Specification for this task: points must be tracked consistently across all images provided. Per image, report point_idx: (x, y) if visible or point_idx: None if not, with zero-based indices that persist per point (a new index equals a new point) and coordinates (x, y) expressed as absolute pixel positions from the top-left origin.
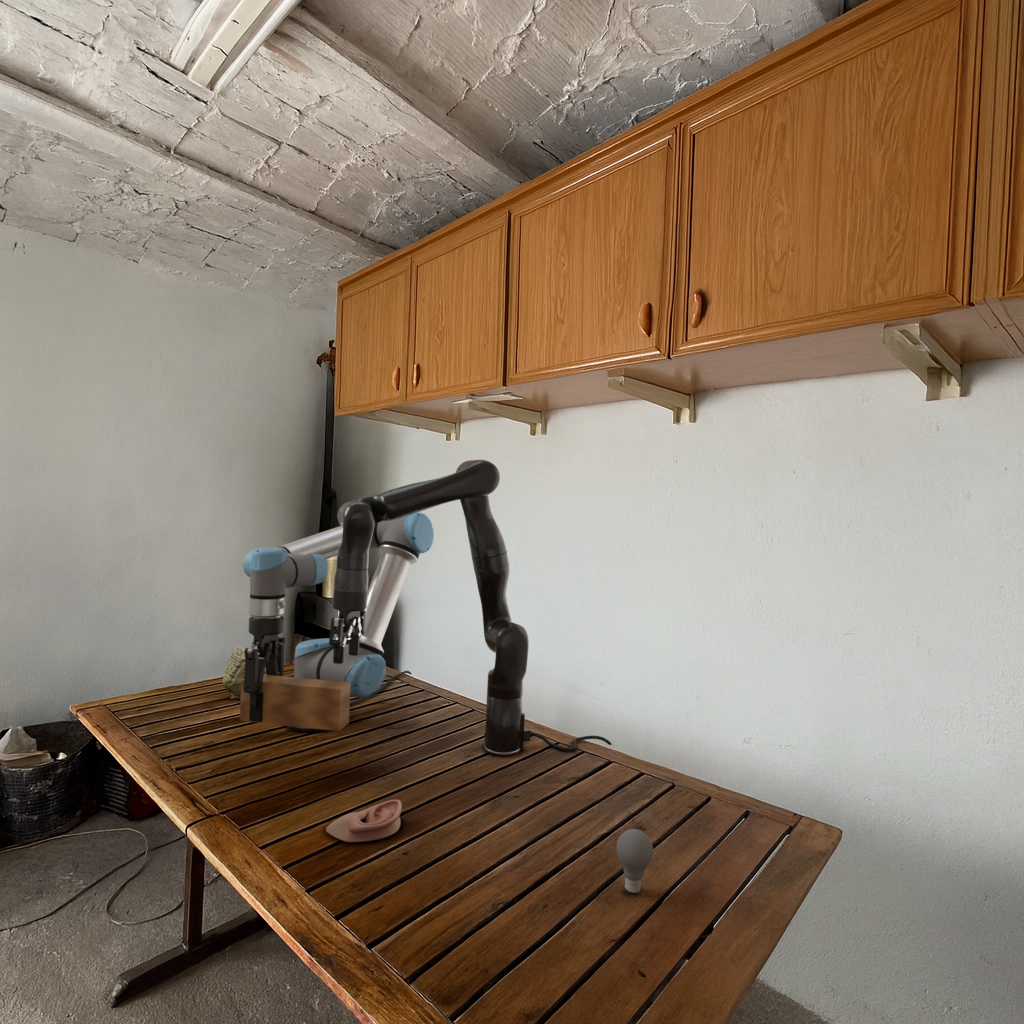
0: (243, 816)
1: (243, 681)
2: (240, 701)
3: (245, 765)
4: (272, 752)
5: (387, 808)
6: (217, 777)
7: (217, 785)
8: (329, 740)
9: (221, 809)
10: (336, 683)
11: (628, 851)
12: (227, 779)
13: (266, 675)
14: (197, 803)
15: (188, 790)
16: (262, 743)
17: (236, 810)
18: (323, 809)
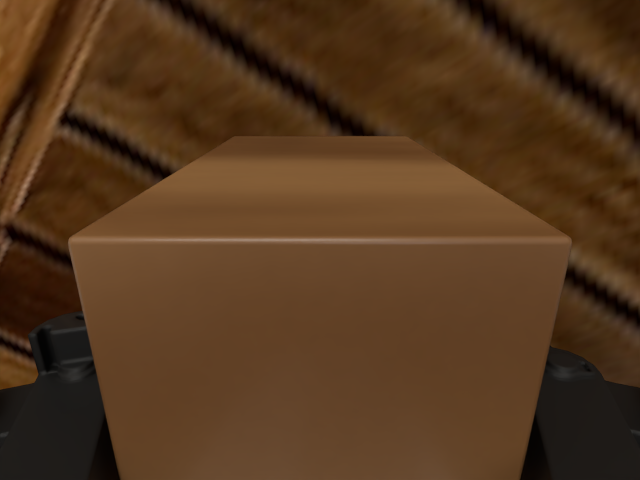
0: (23, 298)
1: (86, 277)
2: (193, 161)
3: (343, 100)
4: (484, 137)
5: None
6: (214, 56)
7: (157, 100)
8: (624, 288)
9: (25, 217)
10: None
11: None
12: (212, 106)
13: (478, 473)
14: (19, 117)
15: (80, 14)
16: (580, 38)
17: (41, 262)
18: None
